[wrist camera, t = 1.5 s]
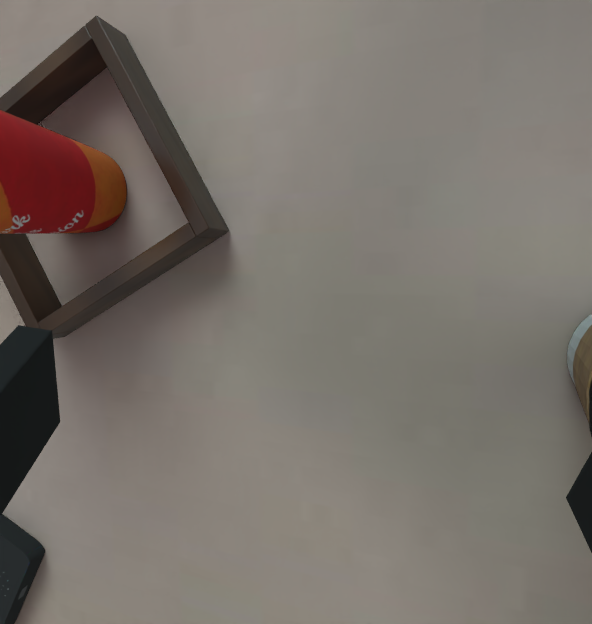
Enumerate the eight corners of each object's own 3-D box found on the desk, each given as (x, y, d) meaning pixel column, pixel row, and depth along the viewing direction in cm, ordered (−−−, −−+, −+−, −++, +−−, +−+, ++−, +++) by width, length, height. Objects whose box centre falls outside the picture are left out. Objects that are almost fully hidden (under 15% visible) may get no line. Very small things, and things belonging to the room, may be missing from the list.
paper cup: (34, 223, 40) (-181, 203, 27) (64, 119, 39) (-147, 43, 25) (121, 265, 38) (-62, 266, 25) (157, 158, 37) (-18, 97, 23)
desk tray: (125, 34, 37) (96, 14, 34) (229, 231, 36) (209, 228, 33) (-26, 158, 41) (-62, 150, 38) (64, 337, 40) (33, 342, 37)
